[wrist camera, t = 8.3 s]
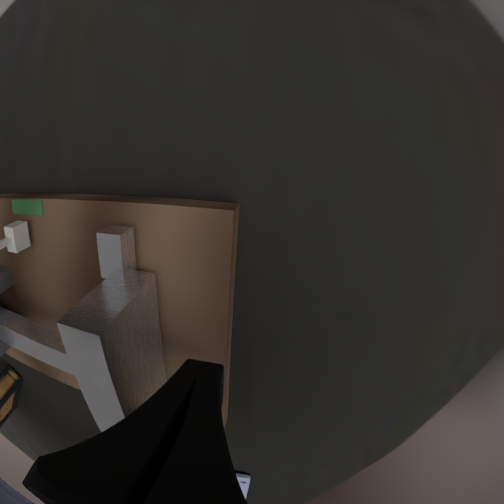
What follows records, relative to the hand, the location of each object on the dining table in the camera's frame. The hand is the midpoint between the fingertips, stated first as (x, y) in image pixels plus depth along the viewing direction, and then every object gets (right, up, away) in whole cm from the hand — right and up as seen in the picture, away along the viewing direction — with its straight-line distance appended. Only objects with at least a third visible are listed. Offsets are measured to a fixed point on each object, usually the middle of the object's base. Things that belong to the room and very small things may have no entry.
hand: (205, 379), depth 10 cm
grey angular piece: (-7, +2, +1) cm, 7 cm away
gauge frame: (-11, +2, +4) cm, 12 cm away
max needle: (-9, +6, 0) cm, 11 cm away
